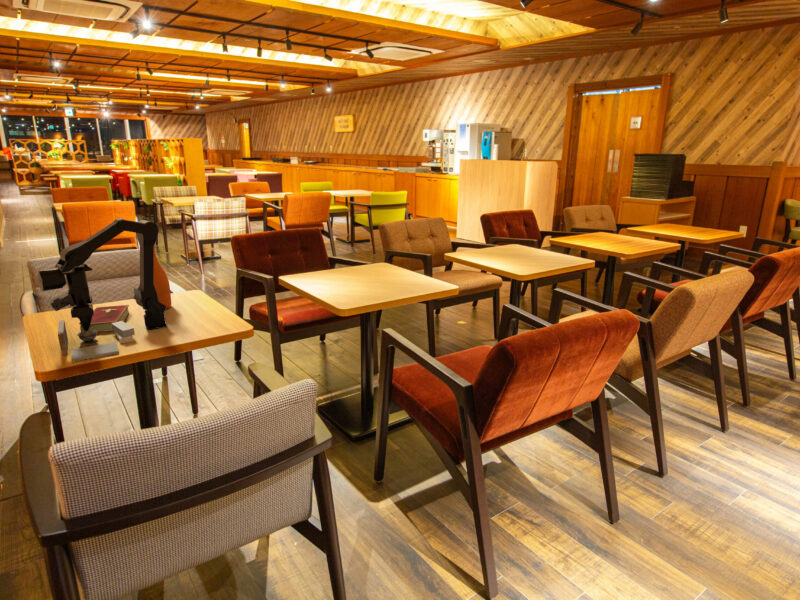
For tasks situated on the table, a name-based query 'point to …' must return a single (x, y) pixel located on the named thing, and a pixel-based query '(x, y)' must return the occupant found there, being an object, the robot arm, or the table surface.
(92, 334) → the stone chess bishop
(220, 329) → the table surface
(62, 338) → the long thin taupe batten
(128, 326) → the top offcut
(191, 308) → the table surface
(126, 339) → the bottom offcut
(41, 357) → the table surface
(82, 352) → the slate mat
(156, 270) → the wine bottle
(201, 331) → the table surface
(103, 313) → the hardcover book
